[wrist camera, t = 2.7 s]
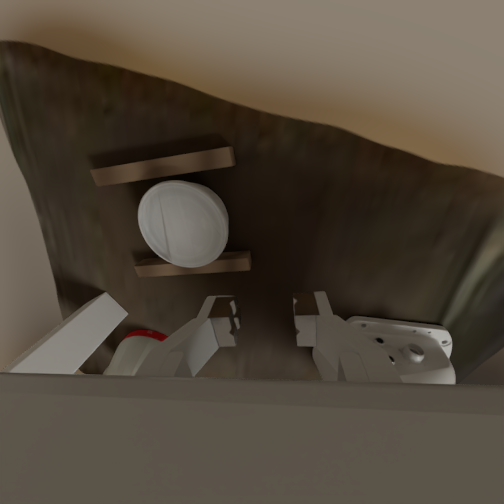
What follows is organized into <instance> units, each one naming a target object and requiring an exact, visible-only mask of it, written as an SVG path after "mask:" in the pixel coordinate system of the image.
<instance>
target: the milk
mask: <svg viewBox="0 0 504 504" xmlns="http://www.w3.org/2000/svg"><path fill="white" fill-rule="evenodd" d="M127 314H128V313H127V312H126V311H125V310H124V309H123V308H122V307H121V306H120V305H119V304H118V303H117V302H116V301H115V300H114V299H113V298H112V297H111V296H110V295H109V294H108V293H107V292H105V293H103V294H101V295H99V296H98V297H96V298H94V299H92V300H90V301H89V302H87V303H86V304H84V305H83V306H82V307H81V308H79V309H78V310H77V311H76V312H74V313H73V314H72V315H71V316H69V317H68V318H67V319H66V320H64V321H63V322H62V323H60V324H59V325H58V326H57V327H55V328H54V329H53V330H52V331H50V332H49V333H48V334H47V335H45V336H44V337H43V338H42V339H40V340H39V341H38V342H37V343H35V344H34V345H33V346H32V347H30V348H29V349H28V350H27V351H26V352H24V353H23V354H22V355H20V356H19V357H18V358H16V359H15V360H14V361H13V362H11V363H10V364H9V365H8V366H7V367H5V368H4V369H3V370H2V371H0V372H10V373H48V374H73V373H74V372H75V371H76V370H77V369H78V368H79V367H80V366H81V365H82V364H83V363H84V361H85V360H86V359H87V358H88V357H89V356H90V355H91V354H92V353H93V352H94V351H95V349H96V348H97V347H98V346H99V345H100V344H101V343H102V342H103V341H104V340H105V339H106V337H107V336H108V335H109V334H110V333H111V332H112V331H113V330H114V329H115V328H116V327H117V325H118V324H119V323H120V322H121V321H122V320H123V319H124V318H125V317H126V316H127Z"/></svg>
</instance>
